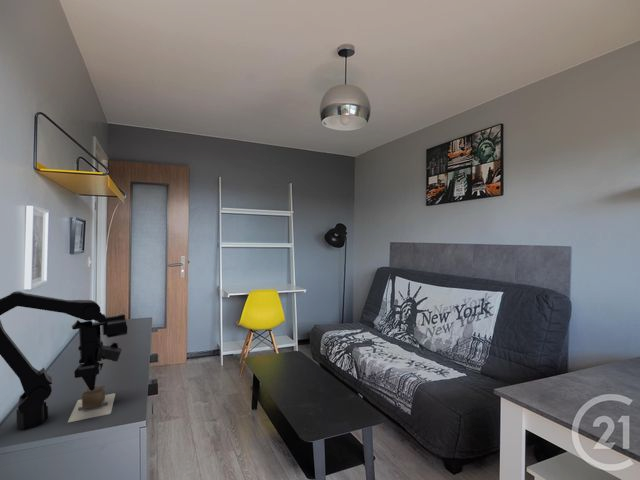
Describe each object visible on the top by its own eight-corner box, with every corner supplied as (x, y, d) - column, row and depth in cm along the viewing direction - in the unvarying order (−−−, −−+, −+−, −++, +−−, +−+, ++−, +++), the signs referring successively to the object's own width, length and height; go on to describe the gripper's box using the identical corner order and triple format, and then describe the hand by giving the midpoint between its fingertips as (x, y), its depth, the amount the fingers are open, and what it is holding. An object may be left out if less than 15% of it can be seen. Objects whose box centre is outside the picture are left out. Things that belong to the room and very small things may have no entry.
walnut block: (100, 391, 116) (104, 385, 124) (82, 395, 114) (87, 388, 122) (101, 405, 116) (104, 397, 124) (82, 408, 114) (87, 401, 122)
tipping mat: (110, 416, 112) (110, 410, 112) (67, 425, 107) (67, 419, 107) (115, 395, 128) (115, 390, 128) (78, 402, 123) (77, 397, 123)
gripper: (116, 343, 111) (118, 395, 111) (121, 330, 128) (123, 375, 128) (73, 349, 107) (75, 403, 107) (83, 335, 124) (85, 381, 124)
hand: (92, 389), depth 117 cm, fingers closed
